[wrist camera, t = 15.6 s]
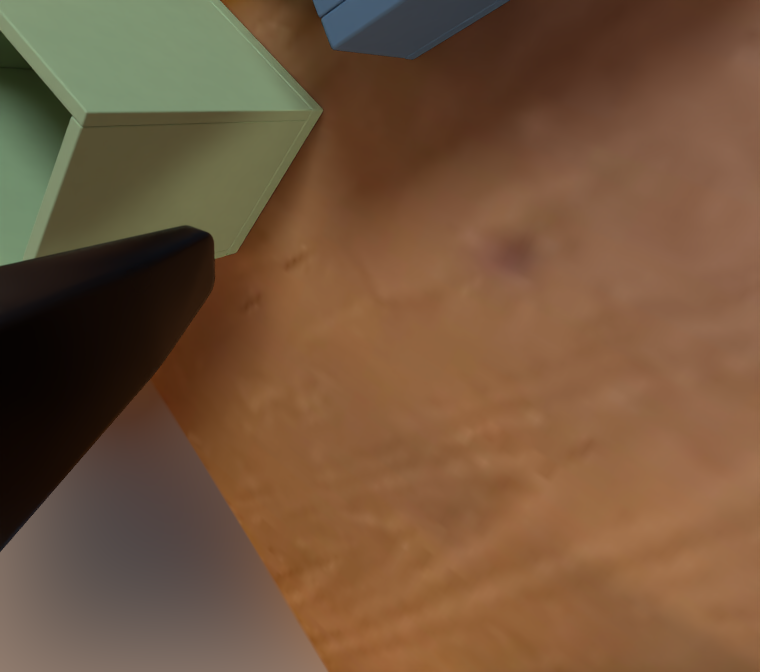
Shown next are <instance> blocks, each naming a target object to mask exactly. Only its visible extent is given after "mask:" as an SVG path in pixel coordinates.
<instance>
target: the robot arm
mask: <svg viewBox="0 0 760 672" xmlns="http://www.w3.org/2000/svg"><path fill="white" fill-rule="evenodd" d="M214 281H215V251H214V239H213V237H212V235H211V234H210V233H208V232H206V231H203V230H201V229H198V228H195V227H192V226H189V225H182V226H178V227H173V228H169V229H164V230H160V231H155V232H151V233H146V234H142V235H137V236H133V237H128V238H124V239H119V240H115V241H110V242H106V243H101V244H97V245H92V246H87V247H83V248H78V249H74V250H69V251H65V252H60V253H56V254H51V255H47V256H42V257H38V258H33V259H29V260H24V261H20V262H15V263H11V264H6V265H2V266H0V552H1V550H2V549H3V548H4V547H5V546H6V545H7V544H8V542H9V541H10V540H11V539H12V538H13V537H14V535H15V534H16V533H17V532H18V531H19V529H21V527H22V526H23V525H24V524H25V523H26V522H27V521H28V519H29V518H30V517H31V516H32V515H33V514H34V512H35V511H36V510H37V509H38V508H39V507H40V506H41V504H42V503H43V502H44V501H45V500H46V499H47V497H48V496H49V495H50V494H51V493H52V492H53V491H54V489H55V488H56V487H57V486H58V485H59V483H60V482H61V481H62V480H63V479H64V478H65V477H66V476H67V474H68V473H69V472H70V471H71V470H72V469H73V467H74V466H75V465H76V464H77V463H78V462H79V460H80V459H81V458H82V457H83V456H84V455H85V454H86V452H87V451H88V450H89V449H90V448H91V447H92V445H93V444H94V443H95V442H96V441H97V440H98V439H99V437H100V436H101V435H102V434H103V433H104V432H105V430H106V429H107V428H108V427H109V426H110V425H111V424H112V422H113V421H114V420H115V419H116V418H117V417H118V415H119V414H120V413H121V412H122V411H123V409H125V407H126V406H127V405H128V404H129V403H130V401H131V400H132V399H133V398H134V397H135V396H136V395H137V393H138V392H139V391H140V390H141V389H142V388H143V386H144V385H145V384H146V383H147V382H148V381H149V380H150V378H151V377H152V376H153V375H154V374H155V372H156V371H157V370H158V369H159V367H160V366H161V365H162V363H163V362H164V361H165V359H166V358H167V357H168V355H169V354H170V352H171V351H172V349H173V348H174V346H175V345H176V343H177V342H178V340H179V339H180V337H181V336H182V335H183V333H184V332H185V330H186V329H187V327H188V326H189V324H190V323H191V321H192V320H193V318H194V317H195V315H196V314H197V312H198V311H199V310H200V308H201V307H202V305H203V304H204V302H205V301H206V299H207V298H208V296H209V295H210V293H211V291H212V289H213V286H214Z"/></svg>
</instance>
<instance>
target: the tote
mask: <svg viewBox="0 0 760 672" xmlns="http://www.w3.org/2000/svg"><path fill="white" fill-rule="evenodd" d="M508 1H510V0H313V3H314V6H315V8H316V11H317V14H318V16H319V17H320V18H322V19H321V22H322V25H323V27H324V30H325V33H326V35H327V38H328V41H329V43H330V46H331V48H332V49H333V50H338V51H347V52H356V53H364V54H373V55H381V56H390V57H398V58H405V59H411V60H413V59H415V58H417V57H418V56H420V55H422V54H423V53H425V52H426V51H428V50H430V49H431V48H433V47H435V46H436V45H438V44H440V43H441V42H443V41H444V40H446V39H448V38H449V37H451V36H453V35H454V34H456V33H457V32H459V31H461V30H462V29H464V28H466V27H467V26H469V25H471V24H472V23H474V22H475V21H477V20H479V19H480V18H482V17H484V16H485V15H487V14H489V13H490V12H492V11H493V10H495V9H497V8H498V7H500V6H502V5H503V4H505V3H506V2H508Z"/></svg>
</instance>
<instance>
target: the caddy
mask: <svg viewBox="0 0 760 672" xmlns="http://www.w3.org/2000/svg"><path fill="white" fill-rule="evenodd" d="M322 112H323V109H322V108H321V107H320V106H319V105H318V104H317V103H316V102H315V100H314V99H313V98H312V97H311V96H310V95H309V94H308V93H307V92H306V91H305V90H304V89H303V88H302V87H301V86H300V85H299V84H298V83H297V81H296V80H295V79H294V78H293V77H292V76H291V75H290V74H289V73H288V72H287V71H286V70H285V69H284V68H283V67H282V66H281V65H280V63H279V62H278V61H277V60H276V59H275V58H274V57H273V56H272V55H271V54H270V53H269V52H268V51H267V50H266V49H265V48H264V47H263V46H262V44H261V43H260V42H259V41H258V40H257V39H256V38H255V37H254V36H253V35H252V34H251V33H250V32H249V31H248V30H247V29H246V28H245V26H244V25H243V24H242V23H241V22H240V21H239V20H238V19H237V18H236V17H235V16H234V15H233V14H232V13H231V12H230V11H229V10H228V9H227V7H226V6H225V5H224V4H223V3H222V2H221V1H220V0H0V266H2V265H6V264H11V263H15V262H20V261H24V260H29V259H33V258H38V257H42V256H47V255H51V254H56V253H60V252H65V251H69V250H74V249H78V248H83V247H87V246H92V245H97V244H101V243H106V242H110V241H115V240H119V239H124V238H128V237H133V236H137V235H142V234H146V233H151V232H155V231H160V230H164V229H169V228H173V227H178V226H182V225H189V226H192V227H195V228H198V229H201V230H203V231H206V232H208V233H210V234H211V235H212V237H213V239H214V251H215V259H216V258H220V257H224V256H225V255H230V254H234V253H236V252H237V251H238V249H239V248H240V246H241V244H242V243H243V241H244V239H245V238H246V236H247V235H248V233H249V231H250V230H251V228H252V226H253V225H254V223H255V221H256V220H257V218H258V217H259V215H260V213H261V212H262V210H263V208H264V207H265V205H266V203H267V202H268V200H269V199H270V197H271V195H272V194H273V192H274V190H275V189H276V187H277V185H278V184H279V182H280V181H281V179H282V177H283V176H284V174H285V172H286V171H287V169H288V167H289V166H290V164H291V163H292V161H293V159H294V158H295V156H296V154H297V153H298V151H299V149H300V148H301V146H302V145H303V143H304V141H305V140H306V138H307V136H308V135H309V133H310V131H311V130H312V128H313V127H314V125H315V123H316V122H317V120H318V118H319V117H320V115H321V113H322Z"/></svg>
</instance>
